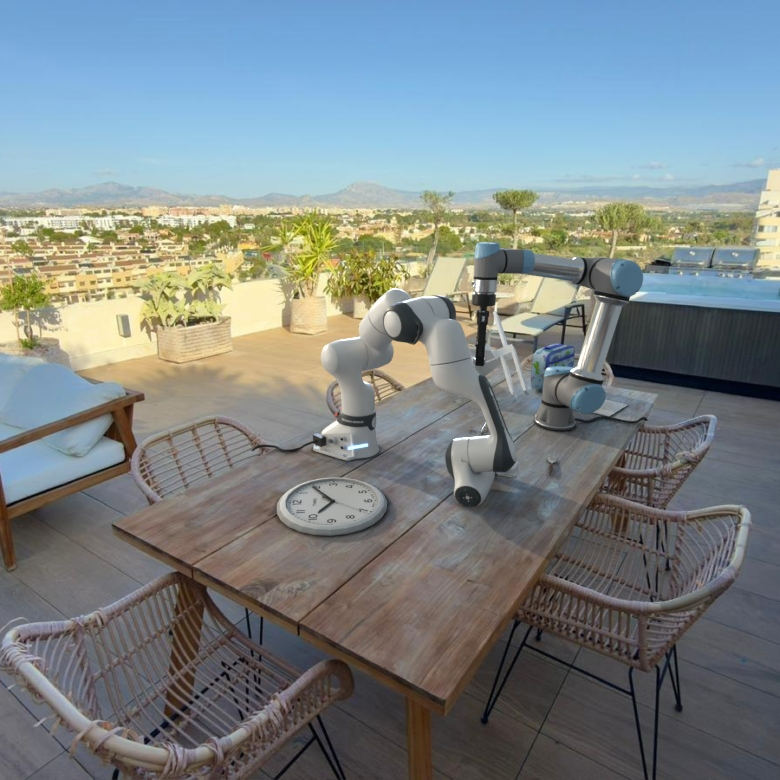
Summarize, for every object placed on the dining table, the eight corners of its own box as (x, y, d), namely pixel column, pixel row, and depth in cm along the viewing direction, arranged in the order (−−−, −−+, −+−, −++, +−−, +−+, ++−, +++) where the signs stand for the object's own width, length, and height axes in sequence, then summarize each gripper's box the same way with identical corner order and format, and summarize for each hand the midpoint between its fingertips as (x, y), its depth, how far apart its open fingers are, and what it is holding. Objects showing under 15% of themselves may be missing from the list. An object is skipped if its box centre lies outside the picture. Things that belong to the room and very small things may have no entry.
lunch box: (547, 395, 239) (552, 351, 233) (526, 390, 247) (530, 347, 240) (574, 384, 257) (579, 343, 251) (554, 380, 264) (558, 339, 258)
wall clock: (392, 527, 129) (268, 531, 127) (391, 533, 130) (269, 537, 127) (383, 473, 158) (282, 475, 155) (383, 478, 158) (282, 480, 156)
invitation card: (608, 416, 214) (573, 407, 224) (608, 416, 214) (573, 408, 224) (628, 404, 229) (594, 396, 238) (628, 405, 229) (594, 397, 238)
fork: (545, 476, 161) (545, 470, 161) (548, 456, 176) (549, 450, 175) (553, 477, 160) (554, 471, 160) (556, 457, 175) (557, 452, 174)
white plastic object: (461, 429, 252) (437, 405, 227) (444, 352, 274) (420, 323, 250) (535, 404, 240) (518, 377, 215) (510, 326, 262) (492, 293, 237)
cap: (474, 361, 176) (475, 356, 175) (486, 363, 174) (487, 357, 174) (471, 364, 172) (471, 359, 172) (483, 365, 171) (483, 360, 170)
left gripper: (517, 468, 146) (523, 449, 158) (446, 456, 153) (457, 439, 165) (515, 488, 148) (521, 468, 160) (445, 476, 154) (456, 457, 167)
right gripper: (472, 289, 175) (467, 357, 182) (472, 295, 159) (467, 370, 166) (494, 290, 174) (489, 358, 181) (497, 296, 158) (491, 371, 165)
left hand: (488, 453), depth 163 cm, fingers closed on bottle, 5 cm apart
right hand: (479, 363), depth 173 cm, fingers closed on cap, 4 cm apart
